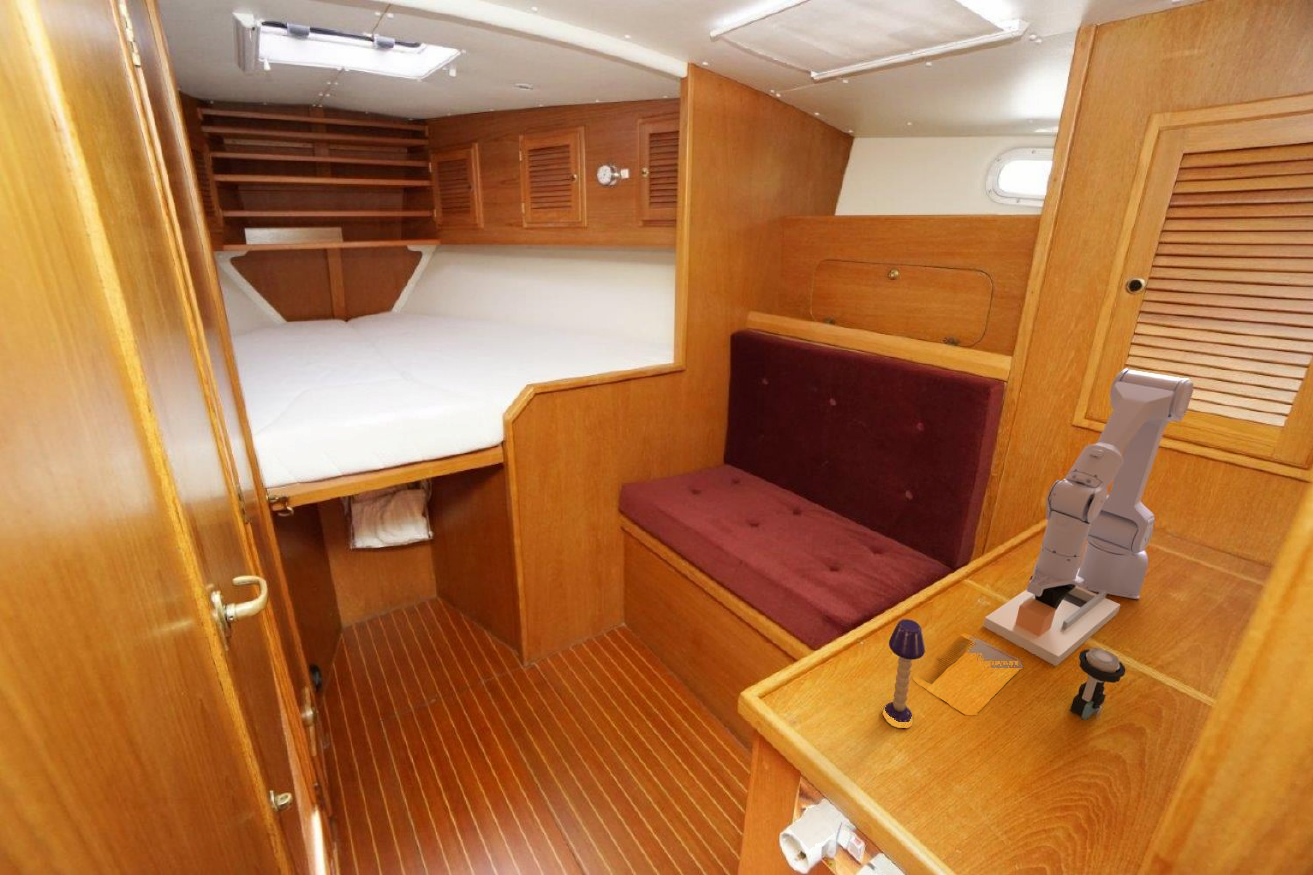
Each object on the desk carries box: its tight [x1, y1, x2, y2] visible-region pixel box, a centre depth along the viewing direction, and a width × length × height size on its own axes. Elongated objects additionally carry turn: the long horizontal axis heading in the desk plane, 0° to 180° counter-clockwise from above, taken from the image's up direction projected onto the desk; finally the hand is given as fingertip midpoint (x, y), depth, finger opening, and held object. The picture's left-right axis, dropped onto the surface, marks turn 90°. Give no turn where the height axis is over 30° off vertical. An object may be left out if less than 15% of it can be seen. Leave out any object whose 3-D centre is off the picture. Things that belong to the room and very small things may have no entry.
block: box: [1015, 597, 1056, 637], centre depth 99 cm, size 4×4×4 cm
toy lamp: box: [884, 618, 926, 722], centre depth 82 cm, size 5×5×17 cm
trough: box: [982, 586, 1121, 667], centre depth 104 cm, size 24×12×4 cm, turn 123°
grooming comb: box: [962, 636, 1024, 669], centre depth 93 cm, size 18×10×1 cm, turn 127°
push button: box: [1069, 647, 1126, 721], centre depth 84 cm, size 7×5×10 cm
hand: (1044, 614), depth 101 cm, fingers closed
